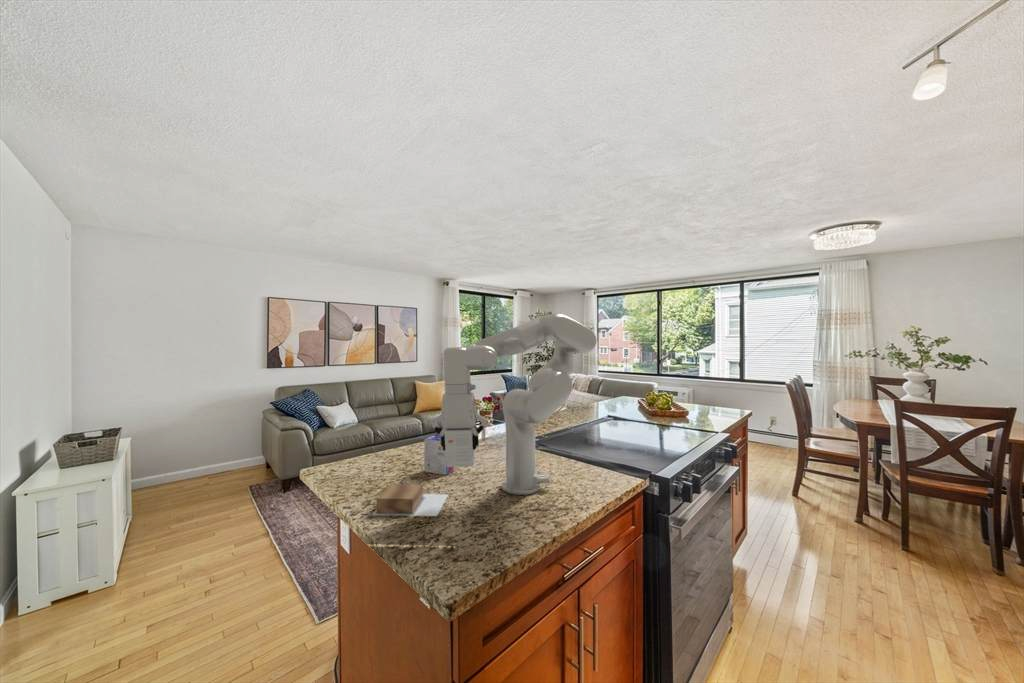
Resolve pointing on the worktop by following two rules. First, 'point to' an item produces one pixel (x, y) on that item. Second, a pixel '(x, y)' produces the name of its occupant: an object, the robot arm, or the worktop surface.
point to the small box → (459, 447)
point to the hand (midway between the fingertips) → (460, 448)
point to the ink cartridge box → (435, 456)
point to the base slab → (399, 498)
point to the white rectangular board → (425, 506)
